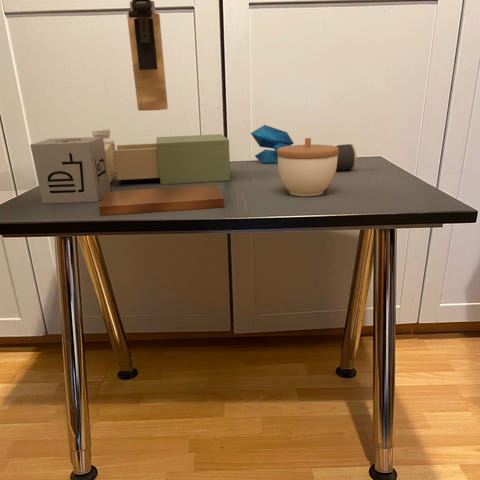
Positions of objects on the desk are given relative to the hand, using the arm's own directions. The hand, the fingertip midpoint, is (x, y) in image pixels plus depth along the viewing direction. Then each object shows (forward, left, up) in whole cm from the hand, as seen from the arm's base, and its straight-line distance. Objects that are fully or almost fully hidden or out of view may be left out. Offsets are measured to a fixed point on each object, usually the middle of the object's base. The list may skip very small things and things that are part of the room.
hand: (148, 69), depth 75 cm
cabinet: (+7, +23, -21) cm, 32 cm away
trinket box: (+26, 0, -21) cm, 33 cm away
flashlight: (+35, +21, -21) cm, 46 cm away
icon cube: (-16, +10, -21) cm, 28 cm away
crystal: (+28, +38, -21) cm, 52 cm away
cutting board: (0, -1, -21) cm, 21 cm away
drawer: (-7, +23, -20) cm, 31 cm away
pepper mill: (0, 0, -6) cm, 6 cm away
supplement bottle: (-13, +37, -21) cm, 45 cm away
